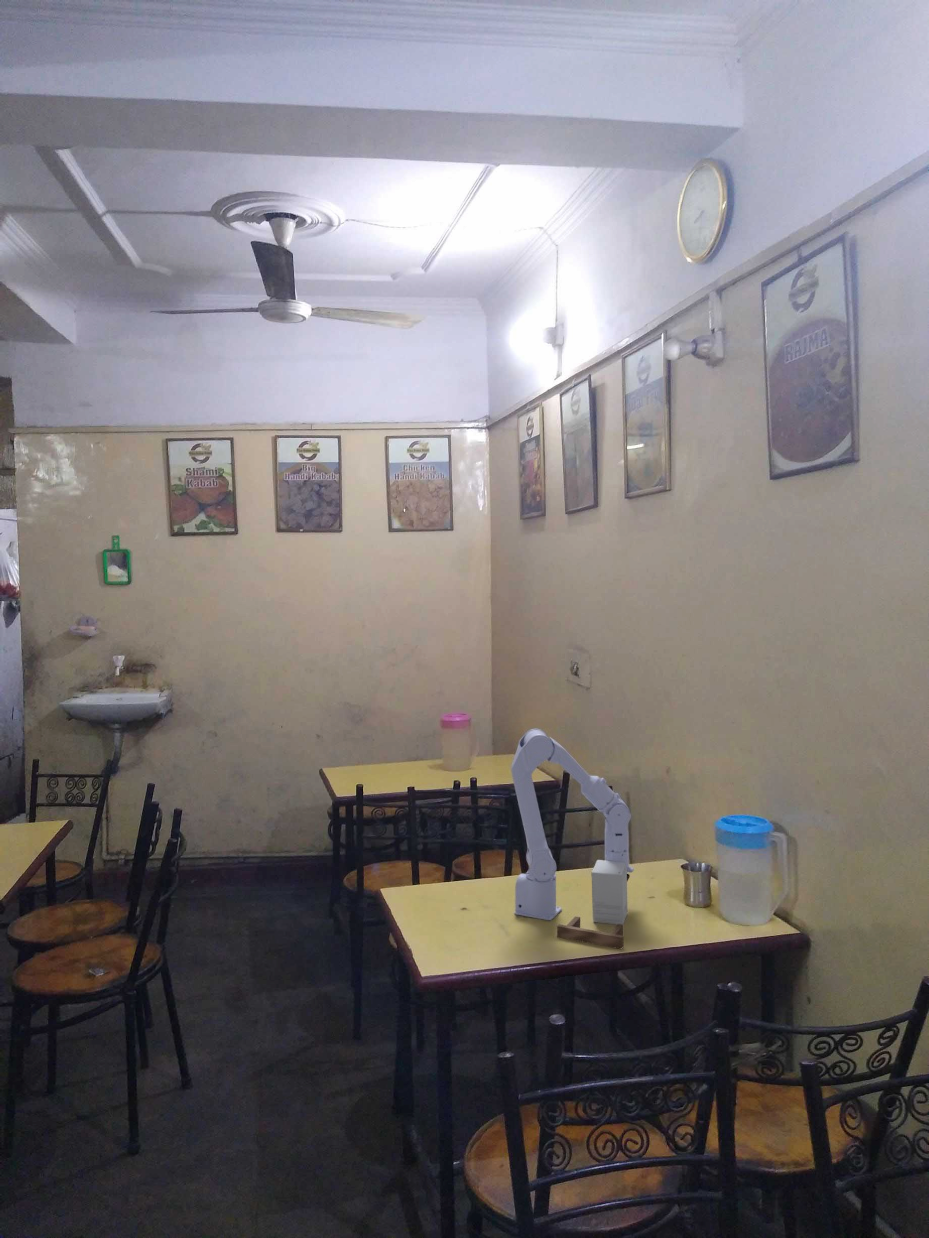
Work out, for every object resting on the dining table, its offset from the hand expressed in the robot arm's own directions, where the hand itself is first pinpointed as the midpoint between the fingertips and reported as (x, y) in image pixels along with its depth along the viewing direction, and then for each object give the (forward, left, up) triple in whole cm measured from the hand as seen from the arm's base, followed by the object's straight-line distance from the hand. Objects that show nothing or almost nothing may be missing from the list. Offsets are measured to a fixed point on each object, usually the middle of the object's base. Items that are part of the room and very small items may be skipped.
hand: (617, 903), depth 217 cm
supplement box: (0, -5, -2) cm, 5 cm away
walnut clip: (0, -17, -2) cm, 17 cm away
